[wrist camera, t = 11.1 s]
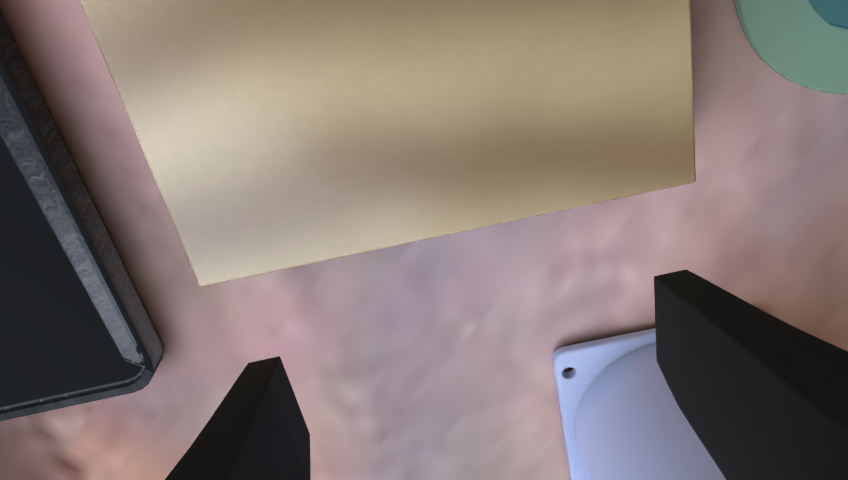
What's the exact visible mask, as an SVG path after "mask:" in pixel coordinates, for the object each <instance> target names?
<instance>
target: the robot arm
mask: <svg viewBox="0 0 848 480" xmlns="http://www.w3.org/2000/svg"><path fill="white" fill-rule="evenodd" d="M654 290H655V325H656V328H653V329H648V330H643V331H638V332H633V333H628V334H623V335H618V336H613V337H608V338H603V339H598V340H593V341H588V342H583V343H579V344H574V345H569V346H564V347H561V348H559V349H558V350H556V351H555V353H554V354H553V359H552V360H553V366H554V373H555V379H556V386H557V393H558V399H559V406H560V412H561V419H562V425H563V432H564V438H565V445H566V452H567V458H568V465H569V471H570V478H571V480H848V351H845V350H843V349H841V348H839V347H836V346H834V345H832V344H830V343H828V342H825V341H823V340H821V339H819V338H817V337H814V336H812V335H810V334H808V333H806V332H804V331H802V330H800V329H798V328H795V327H793V326H791V325H789V324H787V323H785V322H783V321H781V320H779V319H777V318H775V317H774V316H772V315H770V314H768V313H766V312H764V311H762V310H760V309H758V308H756V307H755V306H753V305H751V304H749V303H747V302H745V301H743V300H742V299H740V298H738V297H736V296H734V295H732V294H731V293H729V292H727V291H725V290H723V289H722V288H720V287H718V286H716V285H714V284H713V283H711V282H709V281H707V280H705V279H703V278H702V277H700V276H698V275H696V274H694V273H692V272H690V271H688V270H682V271H677V272H673V273H668V274H663V275H659V276H654ZM568 367H572V368H573V369H572V370H571V371H569V372H563V370H564V369H566V368H568ZM165 480H310V434H309V431H308V429H307V426H306V423H305V421H304V418H303V416H302V413H301V410H300V408H299V405H298V403H297V400H296V397H295V395H294V392H293V390H292V387H291V384H290V382H289V379H288V377H287V374H286V371H285V369H284V366H283V364H282V361H281V358H280V356H279V357H275V358H270V359H265V360H260V361H256V362H251V363H248V365H247V366H246V367H245V369H244V370H243V372H242V373H241V375H240V376H239V377H238V379H237V380H236V382H235V383H234V385H233V386H232V388H231V389H230V391H229V392H228V394H227V395H226V397H225V398H224V399H223V401H222V402H221V404H220V405H219V407H218V408H217V410H216V411H215V413H214V414H213V416H212V417H211V419H210V420H209V421H208V423H207V424H206V426H205V427H204V428H203V430H202V431H201V433H200V434H199V436H198V437H197V438H196V440H195V441H194V443H193V444H192V445H191V447H190V448H189V449H188V451H187V452H186V453H185V454H184V456H183V457H182V458H181V460H180V461H179V462H178V464H177V465H176V466H175V467H174V469H173V470H172V471H171V473H170V474H169V475H168V476H167V478H166V479H165Z"/></svg>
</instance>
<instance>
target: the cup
mask: <svg viewBox="0 0 848 480" xmlns="http://www.w3.org/2000/svg"><path fill="white" fill-rule="evenodd" d="M808 1H809V3H810V5H811V6H812V8H813V9H814V10H815V12H816V13H817V14H818V15H819V16H820V17H821V18H822V19H823V20H824V21H825V22H827V23H828V24H829V25H830V26H833V27H835V28H837V29H839V30H842V31H845V32H848V0H808Z"/></svg>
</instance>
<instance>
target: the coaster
mask: <svg viewBox="0 0 848 480" xmlns="http://www.w3.org/2000/svg"><path fill="white" fill-rule="evenodd" d="M734 2H735V7H736V11H737V15H738V18H739V21H740V23H741V26H742V29H743V31H744V33H745V35H746V37H747V39H748V40H749V42H750V44H751V46H752V47H753V48H754V50H755V51H756V52H757V54H758V55H759V56H760V58H761V59H762V60H763V61H764V62H765V63H767V64H768V65H769V66H770V67H771V68H772V69H773V70H774V71H776V72H777V73H779V74H780V75H782V76H783V77H785V78H786V79H788V80H790V81H793V82H795V83H797V84H799V85H802V86H804V87H807V88H810V89H814V90H818V91H821V92H827V93H836V94H848V32H845V31H842V30H839V29H837V28H835V27H833V26H830V25H829V24H828V23H827V22H825V21H824V20H823V19H822V18H821V17H820V16H819V15H818V14H817V13H816V12H815V10H814V9H813V8H812V6H811V5H810V3H809V1H808V0H734Z"/></svg>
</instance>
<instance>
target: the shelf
mask: <svg viewBox="0 0 848 480" xmlns="http://www.w3.org/2000/svg"><path fill="white" fill-rule="evenodd" d="M80 2H81V4H82V6H83V9H84V11H85V14H86V16H87V18H88V21H89V23H90V26H91V28H92V30H93V33H94V35H95V38H96V40H97V42H98V45H99V47H100V49H101V52H102V54H103V57H104V59H105V61H106V64H107V66H108V69H109V71H110V73H111V76H112V78H113V81H114V83H115V85H116V88H117V90H118V93H119V95H120V97H121V100H122V102H123V104H124V107H125V109H126V112H127V114H128V116H129V119H130V121H131V124H132V126H133V128H134V131H135V133H136V136H137V138H138V140H139V143H140V145H141V148H142V150H143V152H144V155H145V157H146V159H147V162H148V164H149V167H150V169H151V171H152V174H153V176H154V179H155V181H156V183H157V186H158V188H159V191H160V193H161V195H162V198H163V200H164V203H165V205H166V207H167V210H168V212H169V214H170V217H171V219H172V222H173V224H174V226H175V229H176V231H177V234H178V236H179V238H180V241H181V243H182V246H183V248H184V250H185V253H186V255H187V258H188V260H189V262H190V265H191V267H192V269H193V272H194V274H195V277H196V279H197V281H198V284H199V286H201V287H202V286H207V285H212V284H216V283H221V282H226V281H231V280H235V279H240V278H245V277H249V276H254V275H259V274H264V273H268V272H273V271H278V270H283V269H287V268H292V267H297V266H301V265H306V264H311V263H316V262H320V261H325V260H330V259H334V258H339V257H344V256H349V255H353V254H358V253H363V252H368V251H372V250H377V249H382V248H386V247H391V246H396V245H401V244H405V243H410V242H415V241H419V240H424V239H429V238H434V237H438V236H443V235H448V234H453V233H457V232H462V231H467V230H471V229H476V228H481V227H486V226H490V225H495V224H500V223H505V222H509V221H514V220H519V219H523V218H528V217H533V216H538V215H542V214H547V213H552V212H556V211H561V210H566V209H571V208H575V207H580V206H585V205H590V204H594V203H599V202H604V201H608V200H613V199H618V198H623V197H627V196H632V195H637V194H642V193H646V192H651V191H656V190H660V189H665V188H670V187H675V186H679V185H684V184H689V183H693V182H695V181H696V174H695V141H694V108H693V75H692V42H691V8H690V0H80Z"/></svg>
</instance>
